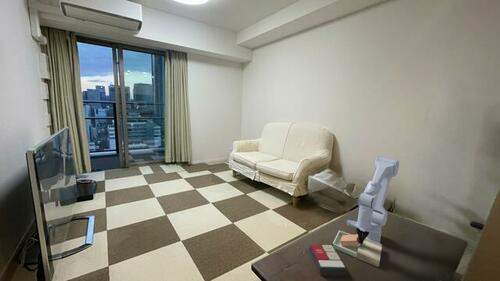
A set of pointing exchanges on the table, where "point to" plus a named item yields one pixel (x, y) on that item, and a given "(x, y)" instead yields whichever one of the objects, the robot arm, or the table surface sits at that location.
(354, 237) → the tile
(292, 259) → the table surface
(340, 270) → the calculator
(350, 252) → the box
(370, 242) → the bench plate
